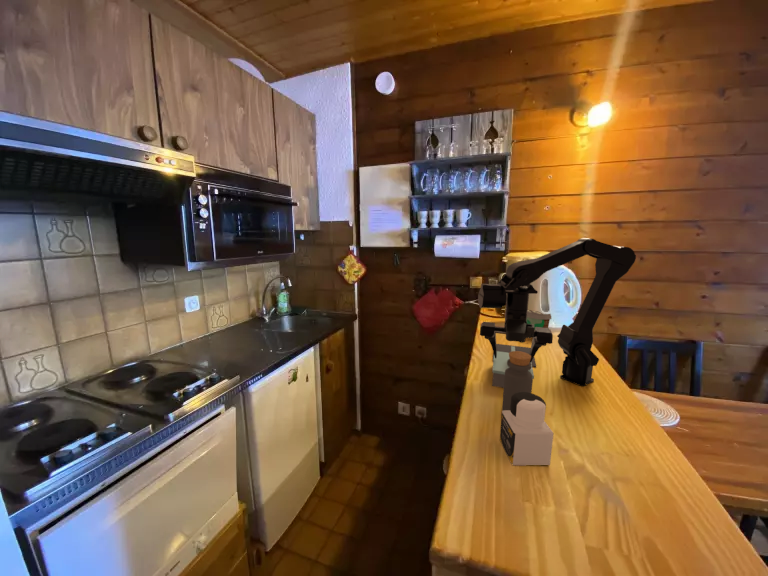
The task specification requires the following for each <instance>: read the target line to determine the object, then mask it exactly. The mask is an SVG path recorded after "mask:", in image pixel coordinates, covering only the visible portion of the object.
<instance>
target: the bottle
mask: <svg viewBox="0 0 768 576" xmlns="http://www.w3.org/2000/svg"><path fill="white" fill-rule="evenodd" d="M509 358H510V359H508V361H507V365H508V366H509V368H507V369H506V370H505V377H504V388H503V393H502V404H501V406H502V408H501V412H502V411H503V410H510V406H511V397H512V395H513V394H515V393H517V392H528V393H532V392H531V385H532V386H533V382H532V374H531V373H530V372H529V371H528V370H530V369H531V363H530V360H531V355H529V354H528V353H525V352H521V351H512V352H510V353H509Z"/></svg>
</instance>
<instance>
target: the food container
mask: <svg viewBox="0 0 768 576" xmlns="http://www.w3.org/2000/svg"><path fill="white" fill-rule="evenodd" d="M550 320H552V314H551V313H542V312H540V311H537V310H531V309H528V313H527V324H534V326H535V327H543V328H549V325H550ZM534 330H535V328H534Z"/></svg>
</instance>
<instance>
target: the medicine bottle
mask: <svg viewBox="0 0 768 576" xmlns="http://www.w3.org/2000/svg"><path fill="white" fill-rule="evenodd" d="M546 406H547V404H546V401H545V400H544V399H543V398H542V397H541V396H539V395H537V394H534V393H532V392H531V393H528V392H517V393H515V394H513V395H512V397H511V406H510V410H503V411H502V410H501V417H500V418H501V419H500V431H499V441H500V443H501V446H502V447H503V450H504V452H505V454H506V456H507V458H508V460H509V462H510V464H511V465H512V464H513V465H512V466H526V465H549V466H550V465H551V461H552V460H551V459H552V452H553V451H552V449H553V441H554V431H553V430H552V429H551V427H550V426H549V425H548V423H547V422H546V421H545V418H546V408H547V407H546Z"/></svg>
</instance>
